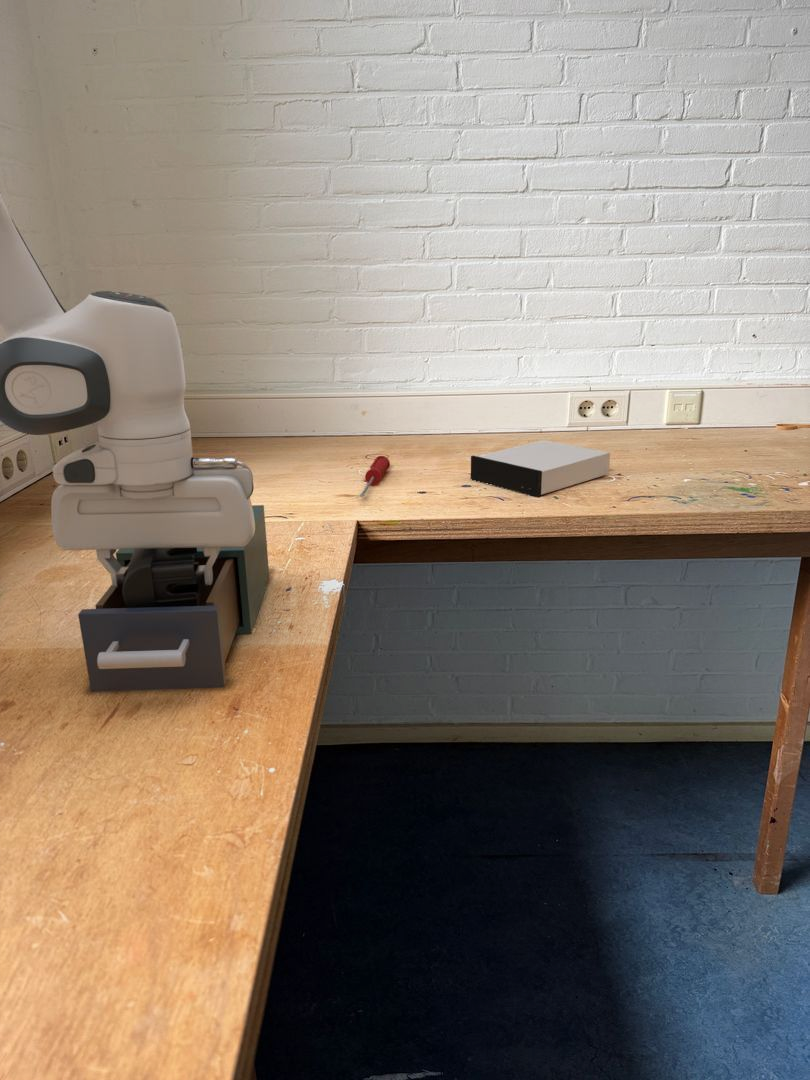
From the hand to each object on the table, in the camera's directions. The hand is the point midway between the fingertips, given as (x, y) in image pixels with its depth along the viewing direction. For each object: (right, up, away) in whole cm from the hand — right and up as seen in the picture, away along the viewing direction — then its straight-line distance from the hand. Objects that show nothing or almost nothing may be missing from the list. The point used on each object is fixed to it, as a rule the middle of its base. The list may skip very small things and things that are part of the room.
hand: (163, 584), depth 86 cm
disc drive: (+53, +17, +76) cm, 95 cm away
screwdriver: (+20, +15, +71) cm, 76 cm away
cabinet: (0, -4, +19) cm, 19 cm away
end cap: (0, -3, +1) cm, 3 cm away
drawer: (0, -9, +2) cm, 9 cm away
